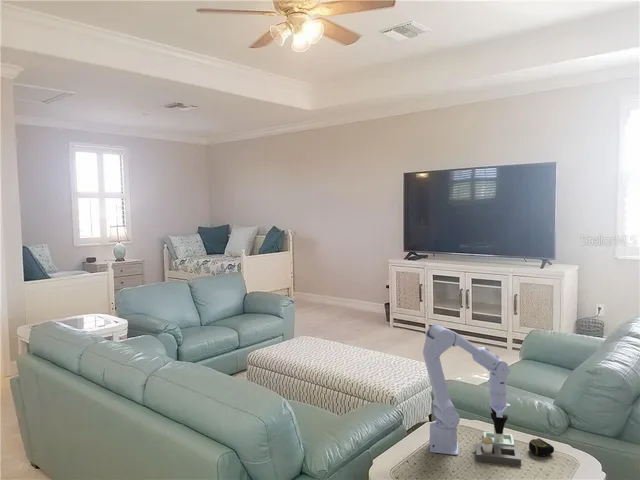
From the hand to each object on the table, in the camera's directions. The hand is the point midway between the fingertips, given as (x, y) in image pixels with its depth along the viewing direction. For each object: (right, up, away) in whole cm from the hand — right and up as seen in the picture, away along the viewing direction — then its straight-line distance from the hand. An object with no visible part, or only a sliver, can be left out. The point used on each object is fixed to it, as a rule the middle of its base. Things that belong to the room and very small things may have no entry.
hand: (498, 428), depth 174 cm
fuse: (-7, -6, -9) cm, 13 cm away
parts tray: (0, -5, 0) cm, 5 cm away
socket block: (-4, -6, -10) cm, 12 cm away
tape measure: (+12, -6, -7) cm, 15 cm away
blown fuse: (0, -5, 0) cm, 5 cm away
